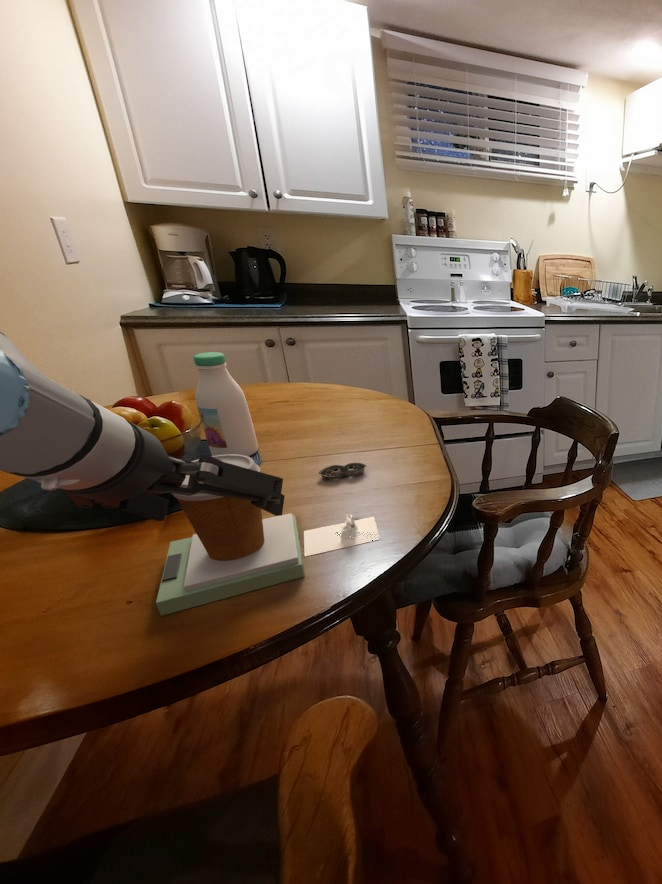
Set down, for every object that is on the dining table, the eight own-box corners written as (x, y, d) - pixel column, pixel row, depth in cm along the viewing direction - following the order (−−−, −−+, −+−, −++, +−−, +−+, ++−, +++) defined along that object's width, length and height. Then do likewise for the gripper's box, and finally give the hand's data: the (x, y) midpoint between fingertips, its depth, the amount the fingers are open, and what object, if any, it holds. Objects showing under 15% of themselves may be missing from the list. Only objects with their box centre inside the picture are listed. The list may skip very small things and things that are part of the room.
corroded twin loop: (367, 476, 92) (366, 471, 91) (319, 483, 89) (318, 478, 88) (366, 465, 96) (365, 460, 95) (319, 471, 93) (318, 466, 92)
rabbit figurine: (359, 537, 75) (356, 519, 73) (341, 541, 74) (337, 523, 72) (357, 527, 77) (354, 509, 76) (339, 531, 76) (336, 513, 75)
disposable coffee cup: (206, 533, 69) (180, 456, 64) (284, 523, 72) (265, 449, 67) (181, 575, 61) (149, 491, 56) (270, 561, 64) (247, 481, 59)
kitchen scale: (174, 553, 69) (168, 536, 68) (297, 525, 77) (293, 510, 75) (161, 616, 58) (153, 597, 57) (304, 576, 66) (300, 559, 65)
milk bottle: (256, 442, 103) (231, 347, 95) (262, 455, 98) (236, 356, 89) (210, 450, 98) (180, 352, 90) (214, 464, 93) (182, 361, 85)
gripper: (-98, 498, 40) (103, 542, 60) (238, 486, 45) (323, 531, 64) (-64, 415, 43) (118, 483, 63) (251, 412, 47) (329, 476, 67)
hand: (222, 508), depth 64 cm, fingers open, 13 cm apart
